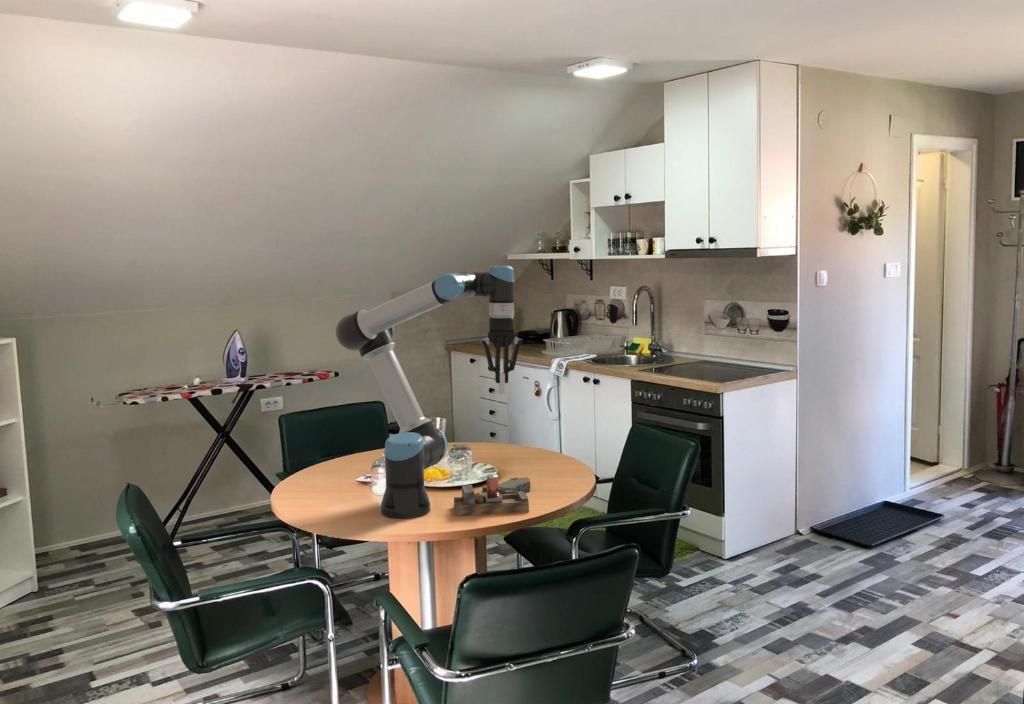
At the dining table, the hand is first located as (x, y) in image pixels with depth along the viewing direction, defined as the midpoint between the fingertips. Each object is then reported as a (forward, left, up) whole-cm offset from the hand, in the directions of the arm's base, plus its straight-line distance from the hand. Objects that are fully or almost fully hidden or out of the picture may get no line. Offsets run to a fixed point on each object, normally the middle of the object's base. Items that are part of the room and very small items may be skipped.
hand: (501, 393), depth 257 cm
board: (-4, -2, -36) cm, 36 cm away
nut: (-8, -2, -34) cm, 35 cm away
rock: (+4, +17, -37) cm, 41 cm away
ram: (-3, -2, -34) cm, 34 cm away
